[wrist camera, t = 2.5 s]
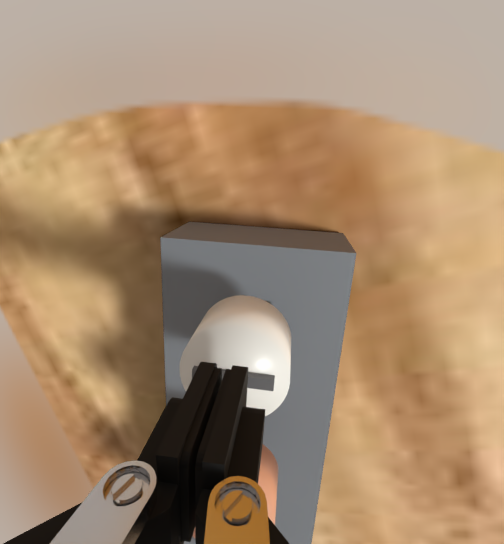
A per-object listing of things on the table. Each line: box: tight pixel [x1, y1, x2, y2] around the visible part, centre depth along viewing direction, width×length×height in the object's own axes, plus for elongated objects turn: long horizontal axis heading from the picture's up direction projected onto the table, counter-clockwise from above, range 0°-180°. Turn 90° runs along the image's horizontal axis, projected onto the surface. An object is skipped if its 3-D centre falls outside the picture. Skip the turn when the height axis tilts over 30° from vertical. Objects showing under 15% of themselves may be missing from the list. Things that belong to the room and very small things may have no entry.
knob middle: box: [193, 445, 278, 538], centre depth 18 cm, size 4×4×6 cm
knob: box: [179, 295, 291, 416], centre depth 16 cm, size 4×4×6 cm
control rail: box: [160, 222, 356, 544], centre depth 23 cm, size 24×10×5 cm, turn 177°
